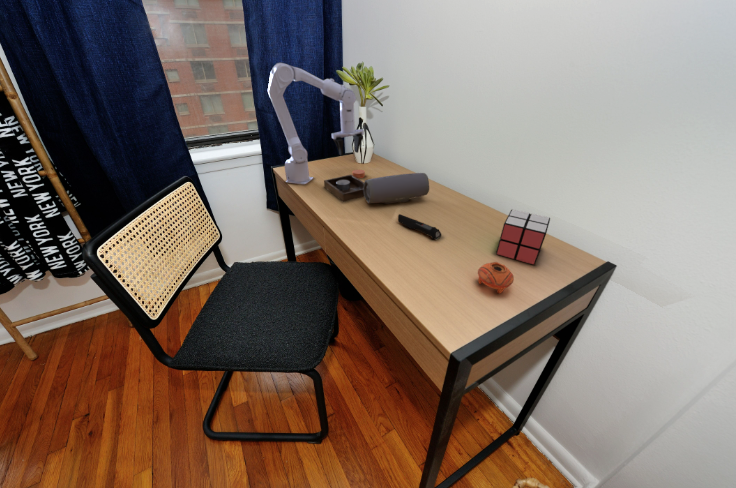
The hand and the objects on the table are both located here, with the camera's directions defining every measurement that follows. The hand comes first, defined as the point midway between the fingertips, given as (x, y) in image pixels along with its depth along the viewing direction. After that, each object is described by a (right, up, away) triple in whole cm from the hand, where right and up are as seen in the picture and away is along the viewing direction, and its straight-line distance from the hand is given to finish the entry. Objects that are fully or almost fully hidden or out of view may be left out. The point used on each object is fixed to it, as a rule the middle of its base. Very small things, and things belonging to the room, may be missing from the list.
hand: (348, 153), depth 135 cm
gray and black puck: (-2, -17, -9) cm, 19 cm away
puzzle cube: (+51, -42, -48) cm, 82 cm away
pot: (+38, -50, -60) cm, 88 cm away
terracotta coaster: (+4, -10, +2) cm, 11 cm away
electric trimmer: (+24, -36, -38) cm, 57 cm away
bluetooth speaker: (+19, -24, -20) cm, 36 cm away
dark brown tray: (0, -19, -12) cm, 22 cm away
